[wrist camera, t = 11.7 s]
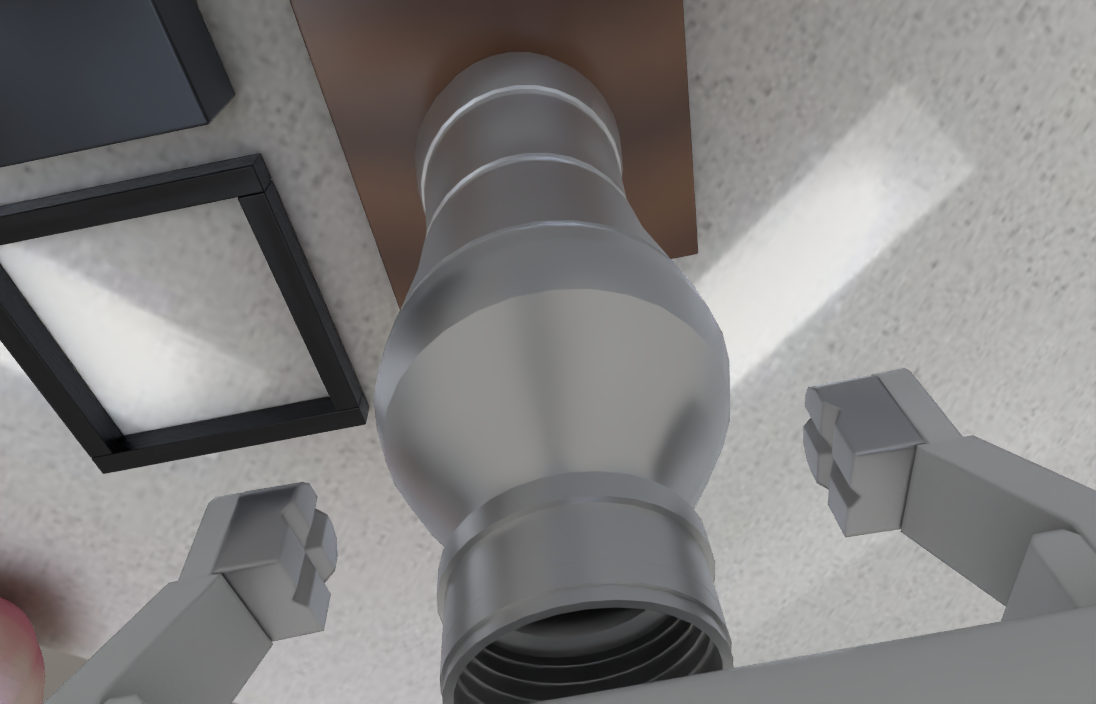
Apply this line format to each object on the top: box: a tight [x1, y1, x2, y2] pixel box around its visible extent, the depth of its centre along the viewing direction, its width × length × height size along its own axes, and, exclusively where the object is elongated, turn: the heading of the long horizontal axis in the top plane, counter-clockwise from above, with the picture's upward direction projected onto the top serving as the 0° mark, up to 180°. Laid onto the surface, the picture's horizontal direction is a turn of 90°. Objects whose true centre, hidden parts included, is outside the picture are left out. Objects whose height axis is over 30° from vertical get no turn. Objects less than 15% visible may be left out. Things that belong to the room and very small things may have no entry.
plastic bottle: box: [374, 52, 733, 704], centre depth 17 cm, size 6×7×20 cm
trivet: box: [290, 0, 698, 310], centre depth 25 cm, size 12×12×1 cm
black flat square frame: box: [0, 153, 369, 474], centre depth 29 cm, size 12×12×1 cm
